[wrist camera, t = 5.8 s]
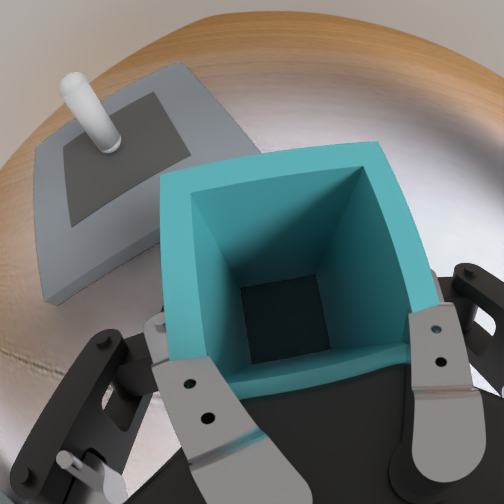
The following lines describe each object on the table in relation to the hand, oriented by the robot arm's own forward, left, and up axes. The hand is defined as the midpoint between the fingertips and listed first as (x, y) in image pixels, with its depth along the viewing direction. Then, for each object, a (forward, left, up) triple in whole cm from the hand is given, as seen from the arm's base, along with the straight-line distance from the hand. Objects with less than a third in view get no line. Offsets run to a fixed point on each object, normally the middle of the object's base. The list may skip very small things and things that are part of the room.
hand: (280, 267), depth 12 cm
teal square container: (+1, +2, -4) cm, 5 cm away
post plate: (+6, -15, -4) cm, 17 cm away
